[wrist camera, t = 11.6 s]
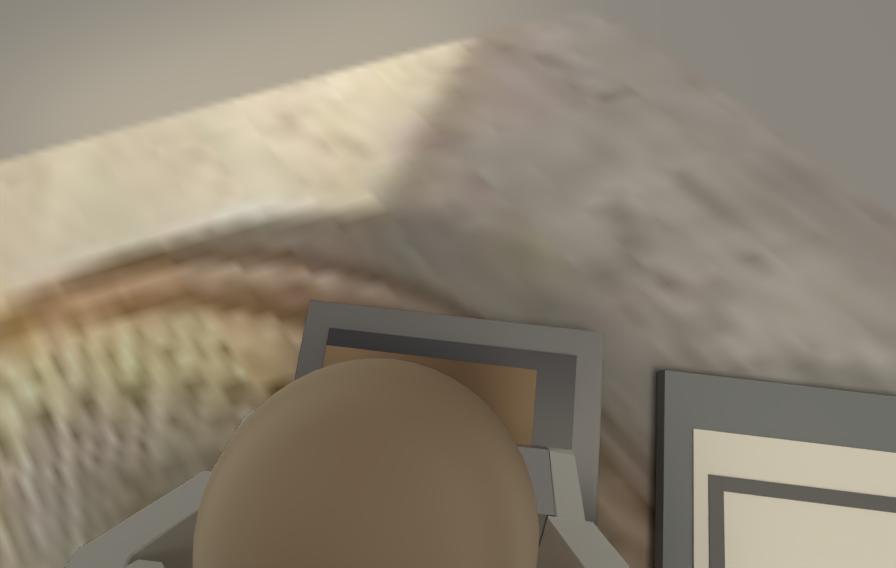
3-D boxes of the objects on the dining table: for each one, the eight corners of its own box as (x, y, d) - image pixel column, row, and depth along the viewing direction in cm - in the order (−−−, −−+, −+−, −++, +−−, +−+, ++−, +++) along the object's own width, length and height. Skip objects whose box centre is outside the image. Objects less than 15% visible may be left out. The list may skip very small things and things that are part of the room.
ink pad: (270, 580, 19) (250, 597, 17) (320, 308, 21) (307, 298, 19) (580, 624, 18) (593, 647, 16) (593, 339, 20) (606, 331, 19)
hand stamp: (312, 551, 16) (-138, 961, 4) (346, 357, 17) (102, 205, 5) (507, 577, 16) (694, 1104, 4) (523, 378, 17) (693, 270, 5)
